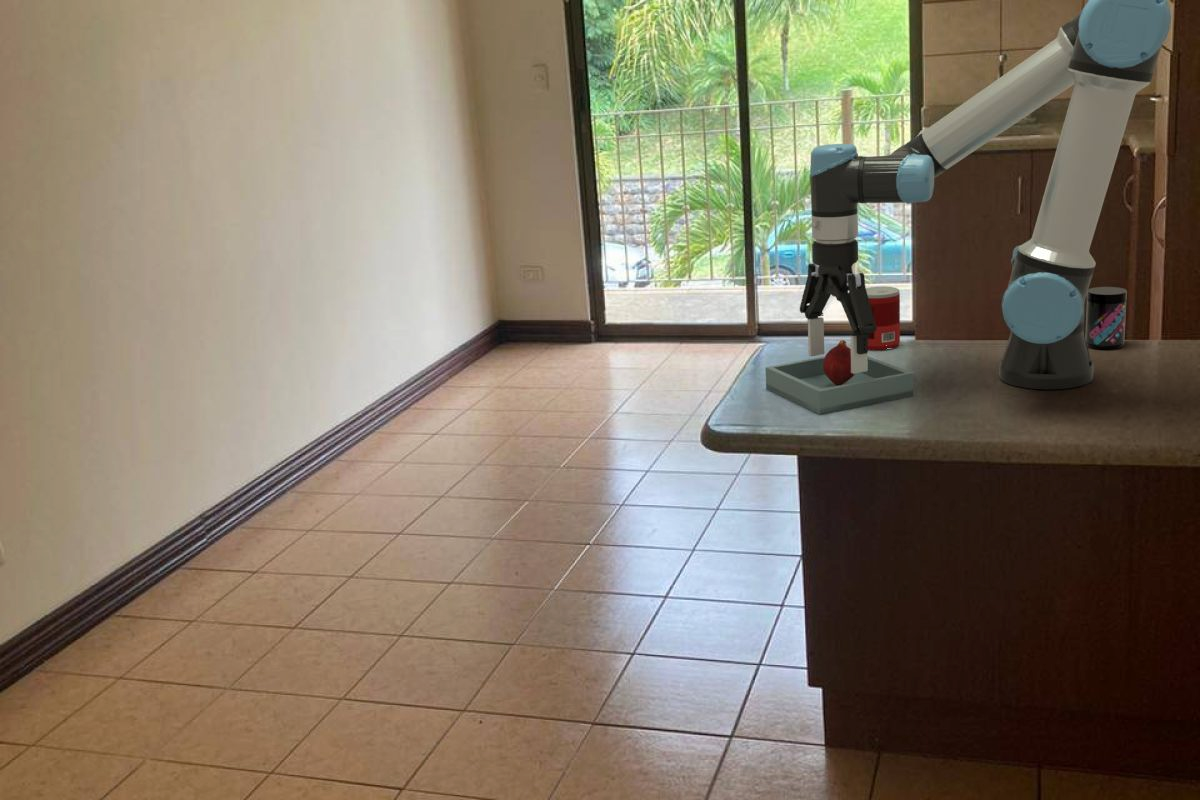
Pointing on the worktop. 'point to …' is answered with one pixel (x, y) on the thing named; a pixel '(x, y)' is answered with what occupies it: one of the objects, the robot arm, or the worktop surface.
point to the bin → (823, 396)
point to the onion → (838, 364)
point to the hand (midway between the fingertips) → (837, 363)
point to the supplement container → (1105, 317)
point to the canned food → (884, 317)
